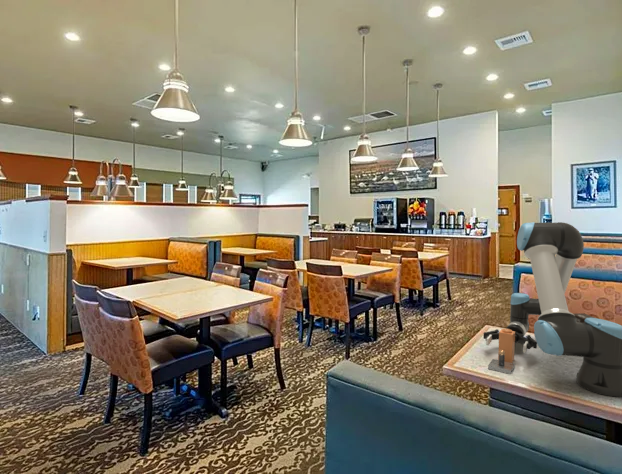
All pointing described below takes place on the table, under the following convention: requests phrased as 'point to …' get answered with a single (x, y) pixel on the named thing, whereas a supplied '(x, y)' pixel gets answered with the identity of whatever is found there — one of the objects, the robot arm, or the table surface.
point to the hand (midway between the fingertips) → (505, 345)
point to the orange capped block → (507, 344)
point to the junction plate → (502, 368)
